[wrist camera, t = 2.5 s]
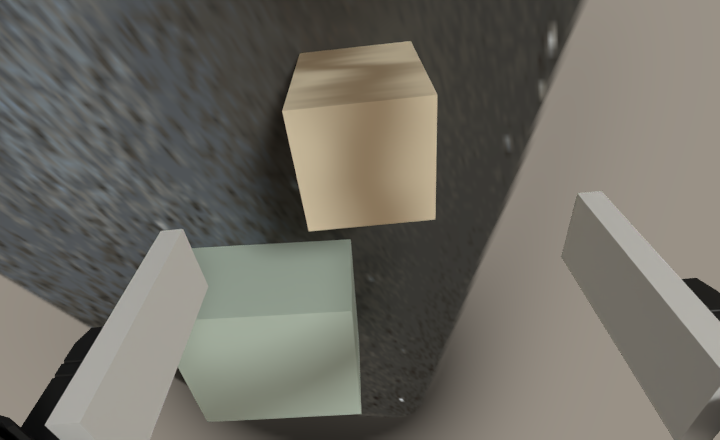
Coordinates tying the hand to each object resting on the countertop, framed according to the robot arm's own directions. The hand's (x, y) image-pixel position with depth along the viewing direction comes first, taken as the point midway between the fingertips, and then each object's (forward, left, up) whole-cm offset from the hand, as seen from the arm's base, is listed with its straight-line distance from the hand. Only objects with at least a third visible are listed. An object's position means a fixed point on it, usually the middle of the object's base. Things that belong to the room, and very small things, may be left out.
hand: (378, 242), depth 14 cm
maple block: (0, 0, -13) cm, 13 cm away
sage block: (-8, -16, -13) cm, 22 cm away
